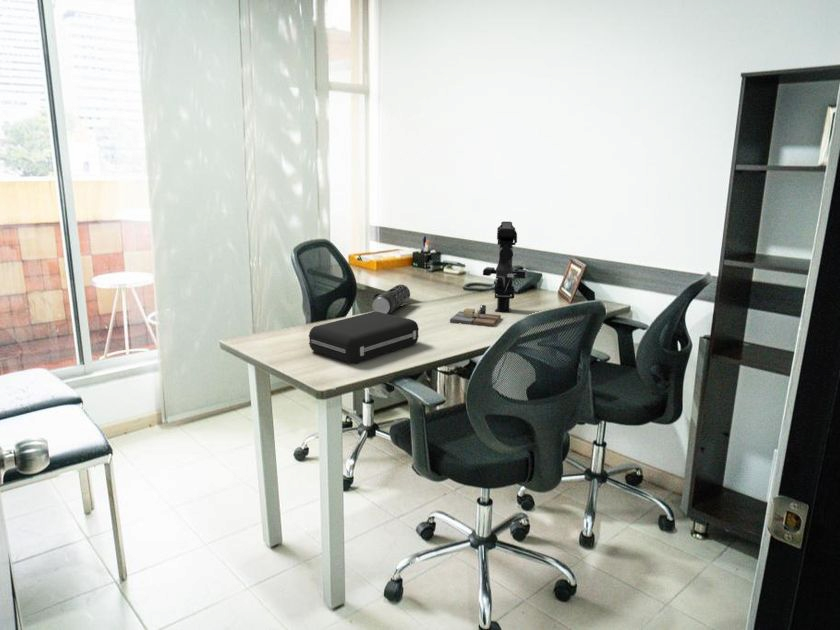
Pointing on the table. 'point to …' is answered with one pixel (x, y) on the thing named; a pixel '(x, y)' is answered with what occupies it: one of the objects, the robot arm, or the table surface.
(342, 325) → the briefcase
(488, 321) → the board
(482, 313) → the steel bolt
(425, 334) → the table surface
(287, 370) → the table surface
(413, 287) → the table surface
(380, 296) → the dark grey textured cylinder
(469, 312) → the brass keeper
